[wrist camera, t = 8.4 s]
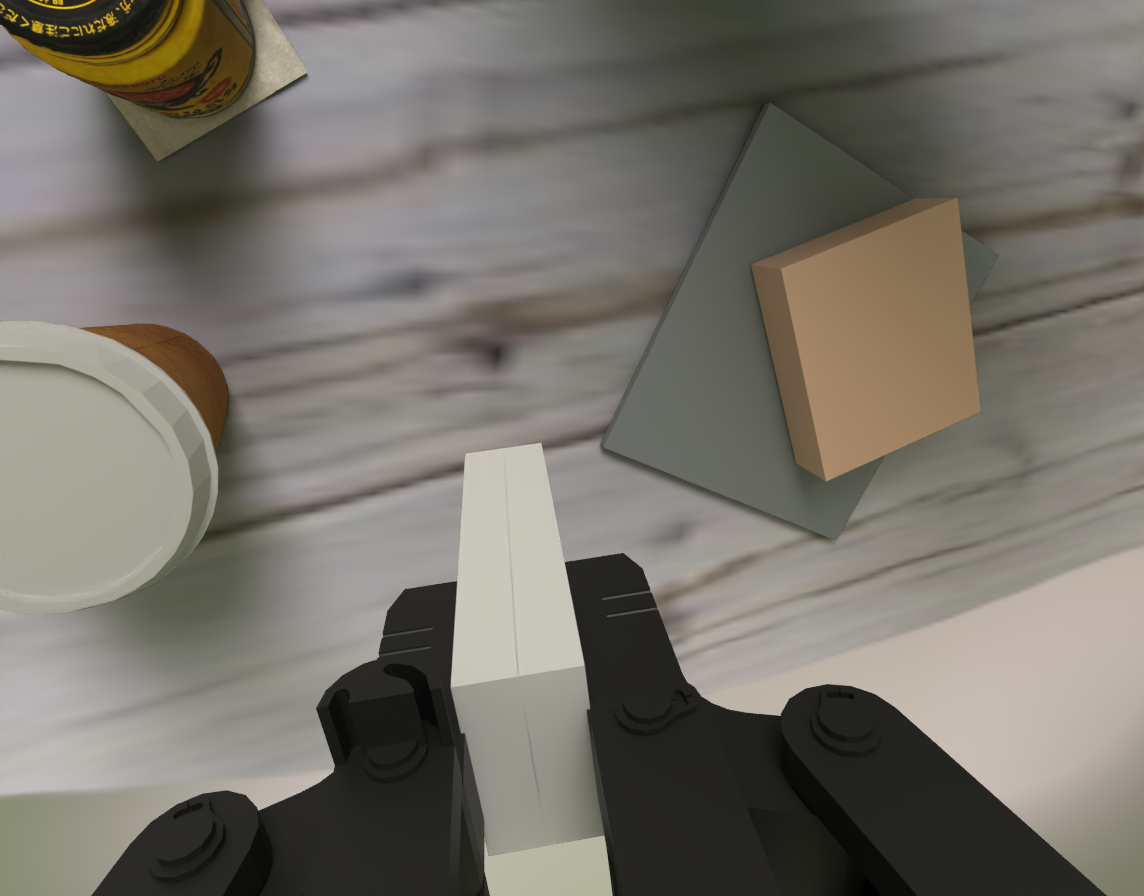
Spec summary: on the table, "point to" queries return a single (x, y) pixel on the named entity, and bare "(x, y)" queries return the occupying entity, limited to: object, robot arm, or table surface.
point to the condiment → (162, 58)
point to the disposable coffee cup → (102, 460)
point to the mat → (752, 332)
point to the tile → (871, 335)
